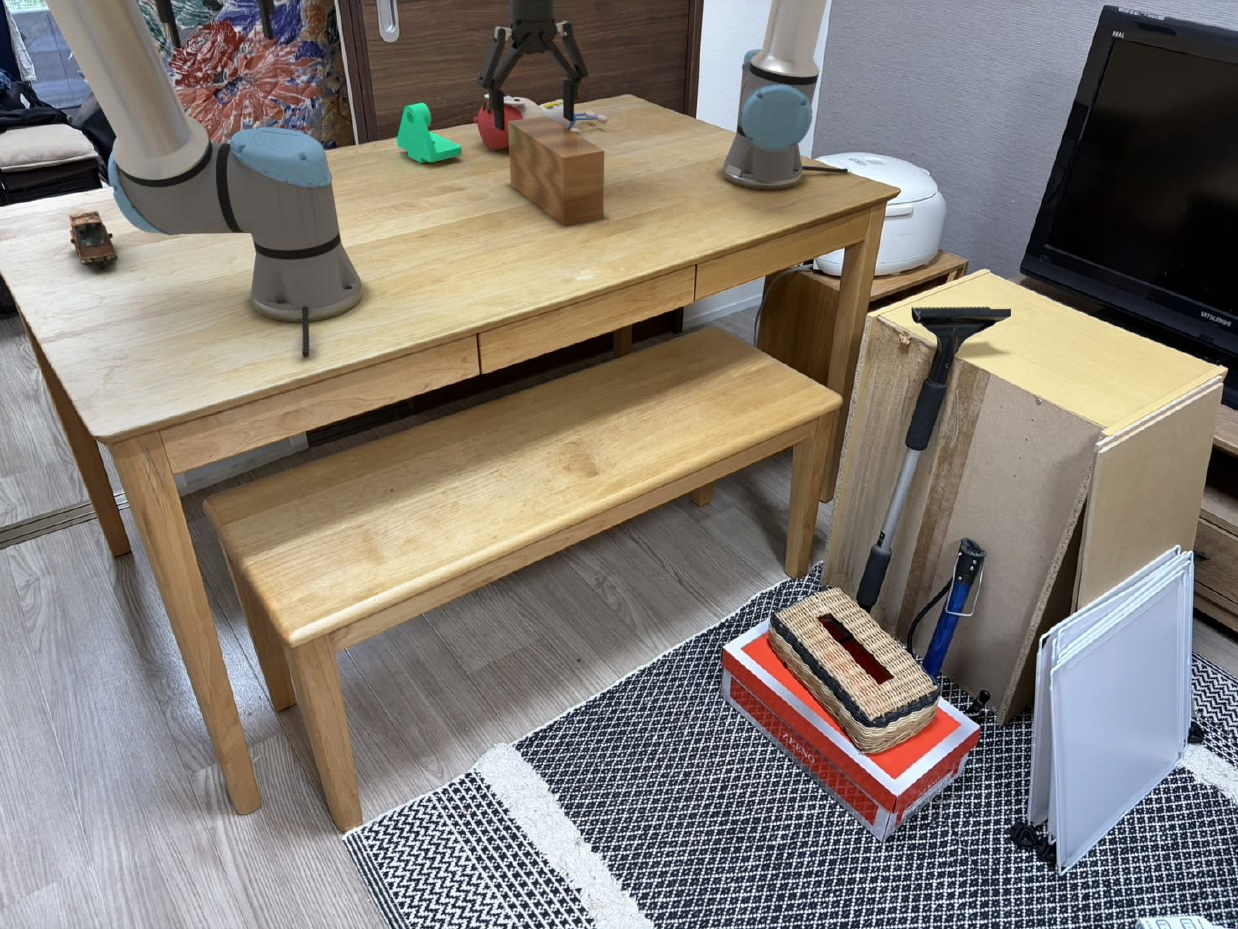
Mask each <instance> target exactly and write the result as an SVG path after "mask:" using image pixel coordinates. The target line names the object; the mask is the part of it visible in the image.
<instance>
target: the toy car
mask: <svg viewBox="0 0 1238 929" xmlns="http://www.w3.org/2000/svg"><path fill="white" fill-rule="evenodd" d="M68 217H69V219H70V227H71V229H69V233H70V236H71V238H70V243H71V244H72V245H73V246H74V248H75V251H76V254H77V255H78V258H79V260H80V264H81V265H82V266H86V267H91V266H94V265H97V266H98V268H99V270H100V271H102V272H104V271H105V265H104V264H112V263H113V262H114V261H117V260H118V255H117V251H116V250H114V244H113V242H112V240H111V239H112V238H114V235H113V233H112V232H110V233H109V232H108V230H107V228H106V225H105V224H104V223H103V220H102V219H101V218H102V217H101V216H100V213H99V211H95V210H93V211H87V212H83V213H82V212H81V213H74V214H69V215H68Z"/></svg>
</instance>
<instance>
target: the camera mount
mask: <svg viewBox="0 0 1238 929" xmlns="http://www.w3.org/2000/svg"><path fill="white" fill-rule="evenodd" d="M431 123H432V114H431V111H430V109H429V107H428V106H427V104H425V103H424V102H419V103H414V104H409V105H406V106H405V107H404V110H403V114H402V117H401V121H400V125H399V129H398V133H397V137H396V143H397V147H398V148H400V149H402V150H404V151H406V152H407V156H408V158H410V159H412V160H413V161H416V162H418V163H420V164H424V163H427V162H428V163H435V162H438V161H439V162H440V161H443V160H447V159H452V158H456V157H459V156H461V155H463V153H462V151H463V150H462V145H461V144H458V143H457V142H454V141H452V140H449V139H447V138H445V137H443V136H441V135H439V134H437V133H434V132H431V131H430V130H429V128H428V127H429V126H430V125H431Z"/></svg>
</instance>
